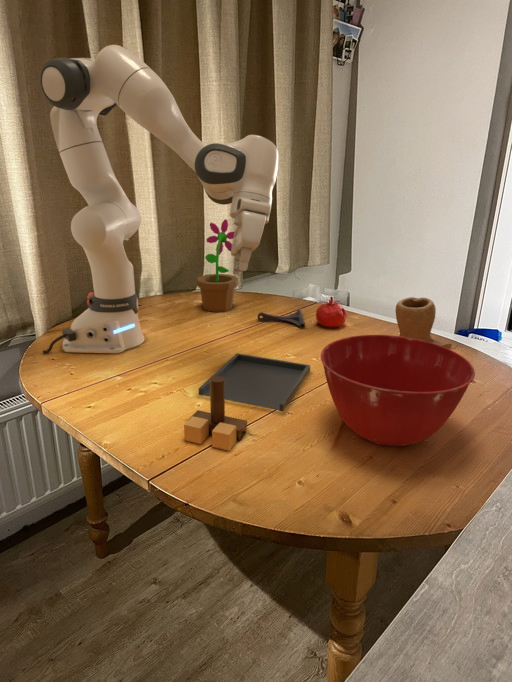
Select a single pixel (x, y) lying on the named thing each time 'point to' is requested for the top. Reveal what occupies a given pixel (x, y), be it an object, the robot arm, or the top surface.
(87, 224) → the robot arm
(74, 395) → the top surface
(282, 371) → the tray
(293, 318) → the dark grey scraper
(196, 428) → the bread cube
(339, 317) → the pomegranate
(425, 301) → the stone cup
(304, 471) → the top surface
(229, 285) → the flowerpot
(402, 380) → the mixing bowl
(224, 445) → the bread cube
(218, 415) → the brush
